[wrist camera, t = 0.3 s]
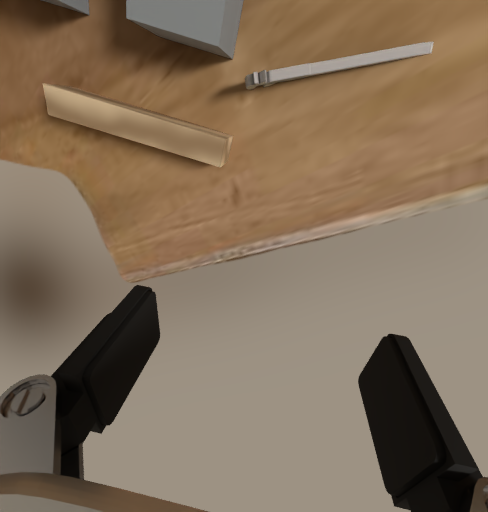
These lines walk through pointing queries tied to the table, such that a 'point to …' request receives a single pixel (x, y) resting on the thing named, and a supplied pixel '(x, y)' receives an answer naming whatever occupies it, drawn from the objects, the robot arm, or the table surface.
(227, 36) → the notched block
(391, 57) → the caliper
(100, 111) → the oak batten
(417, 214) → the table surface
